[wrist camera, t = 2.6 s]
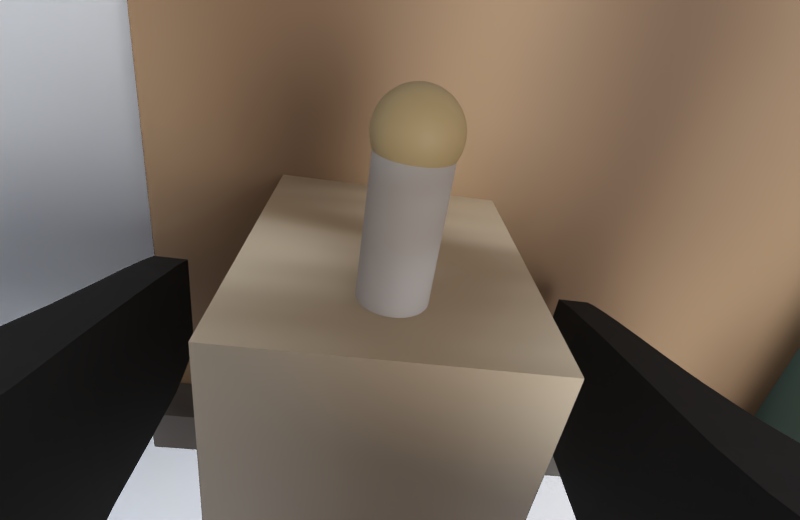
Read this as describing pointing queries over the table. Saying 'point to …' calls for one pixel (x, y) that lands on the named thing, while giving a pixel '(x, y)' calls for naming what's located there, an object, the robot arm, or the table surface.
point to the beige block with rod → (380, 346)
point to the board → (512, 153)
